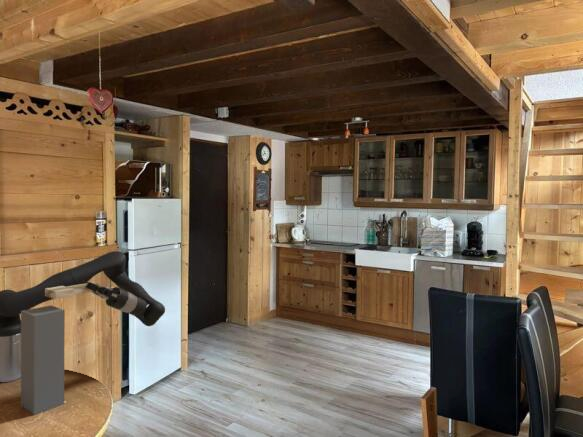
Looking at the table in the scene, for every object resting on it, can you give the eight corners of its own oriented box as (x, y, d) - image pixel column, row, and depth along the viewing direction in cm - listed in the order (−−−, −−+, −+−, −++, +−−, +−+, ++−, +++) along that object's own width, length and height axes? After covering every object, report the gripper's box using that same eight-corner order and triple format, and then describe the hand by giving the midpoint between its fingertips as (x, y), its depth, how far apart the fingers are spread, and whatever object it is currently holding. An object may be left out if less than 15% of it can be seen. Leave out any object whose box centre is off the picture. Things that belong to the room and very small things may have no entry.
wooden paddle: (45, 295, 147) (44, 288, 147) (91, 288, 160) (91, 281, 160) (55, 299, 143) (55, 291, 143) (102, 290, 156) (102, 284, 156)
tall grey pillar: (21, 406, 144) (21, 310, 142) (50, 396, 151) (50, 305, 150) (34, 415, 139) (34, 316, 137) (64, 403, 146) (64, 310, 145)
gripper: (115, 288, 173) (79, 271, 160) (137, 293, 165) (101, 276, 152) (106, 306, 170) (69, 290, 157) (128, 312, 162) (90, 297, 149)
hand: (84, 284), depth 155 cm, fingers closed on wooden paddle, 3 cm apart
